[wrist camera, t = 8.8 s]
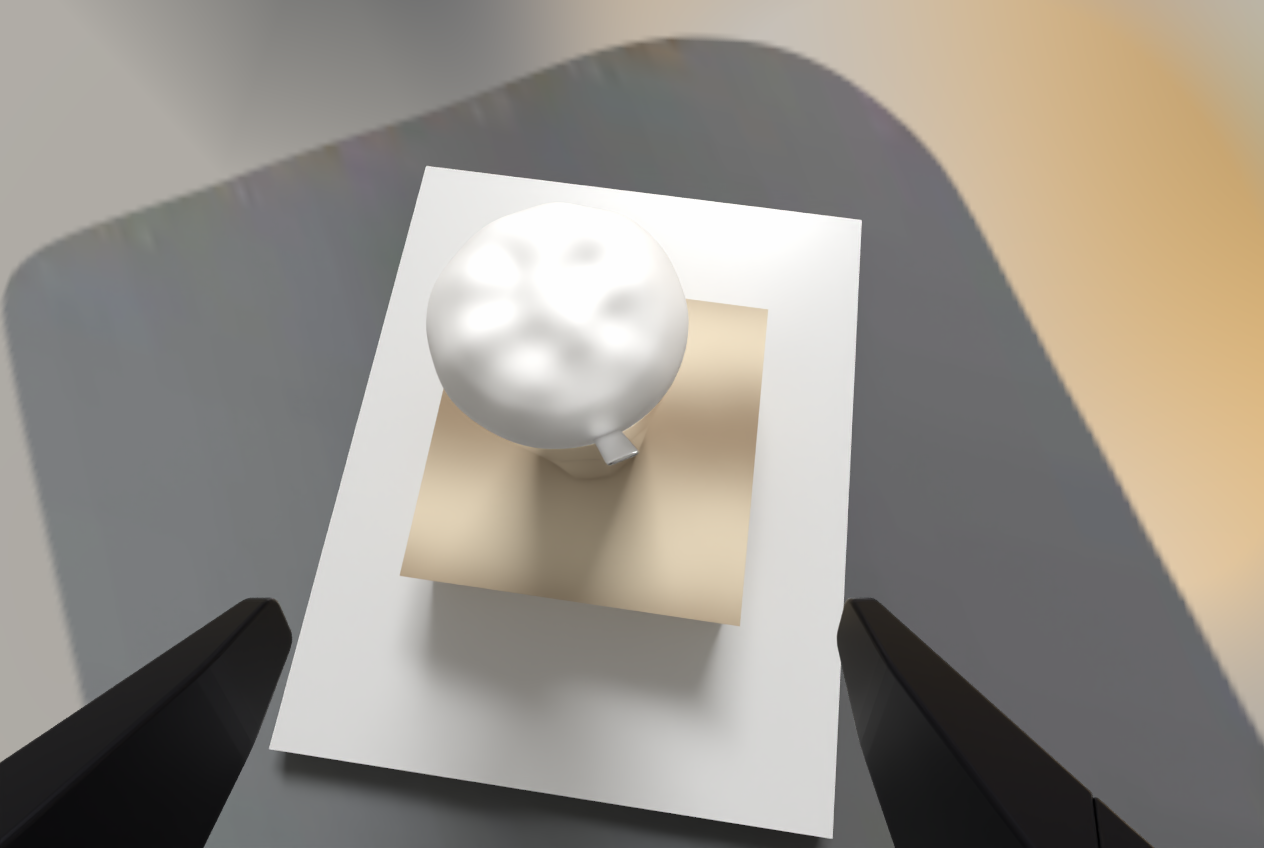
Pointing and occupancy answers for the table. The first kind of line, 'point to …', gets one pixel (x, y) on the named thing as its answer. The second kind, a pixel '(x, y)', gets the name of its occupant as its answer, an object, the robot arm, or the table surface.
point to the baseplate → (585, 633)
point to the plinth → (610, 495)
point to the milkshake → (560, 333)
